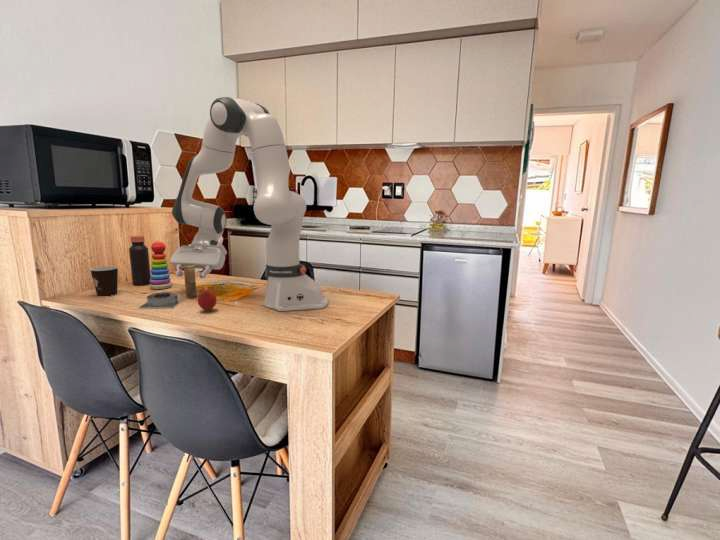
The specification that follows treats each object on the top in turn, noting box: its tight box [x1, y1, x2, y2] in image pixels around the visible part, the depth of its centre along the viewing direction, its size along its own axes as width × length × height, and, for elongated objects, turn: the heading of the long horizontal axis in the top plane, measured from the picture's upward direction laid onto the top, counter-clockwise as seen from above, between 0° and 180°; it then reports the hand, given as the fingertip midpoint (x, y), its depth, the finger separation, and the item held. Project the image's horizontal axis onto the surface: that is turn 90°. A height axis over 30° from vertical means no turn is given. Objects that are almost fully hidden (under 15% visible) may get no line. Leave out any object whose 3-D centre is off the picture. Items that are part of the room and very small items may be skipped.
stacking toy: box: [149, 240, 172, 290], centre depth 157 cm, size 8×8×19 cm
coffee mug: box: [90, 265, 119, 297], centre depth 148 cm, size 12×9×10 cm
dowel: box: [183, 265, 198, 300], centre depth 145 cm, size 4×4×12 cm
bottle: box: [128, 235, 151, 287], centre depth 162 cm, size 7×7×20 cm
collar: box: [138, 291, 186, 309], centre depth 137 cm, size 11×11×3 cm
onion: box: [197, 286, 218, 312], centre depth 129 cm, size 6×6×8 cm
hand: (190, 276), depth 145 cm, fingers open, 8 cm apart
